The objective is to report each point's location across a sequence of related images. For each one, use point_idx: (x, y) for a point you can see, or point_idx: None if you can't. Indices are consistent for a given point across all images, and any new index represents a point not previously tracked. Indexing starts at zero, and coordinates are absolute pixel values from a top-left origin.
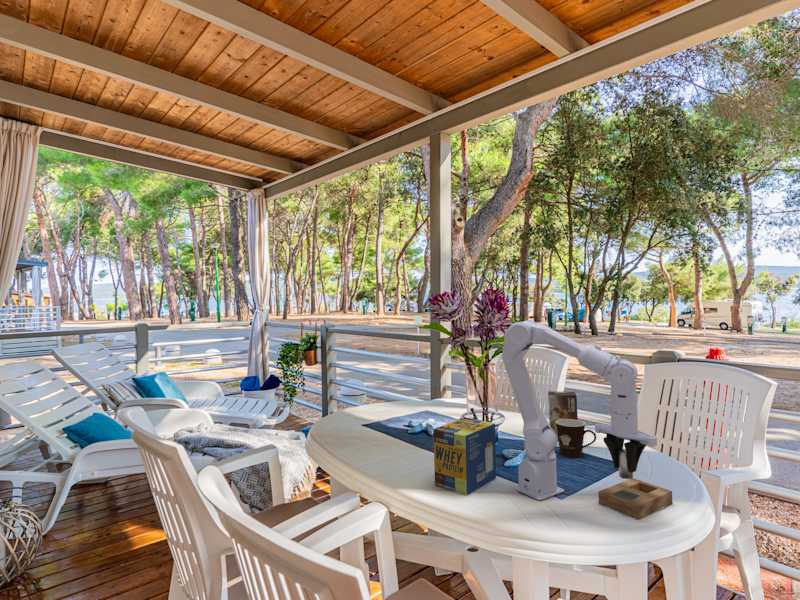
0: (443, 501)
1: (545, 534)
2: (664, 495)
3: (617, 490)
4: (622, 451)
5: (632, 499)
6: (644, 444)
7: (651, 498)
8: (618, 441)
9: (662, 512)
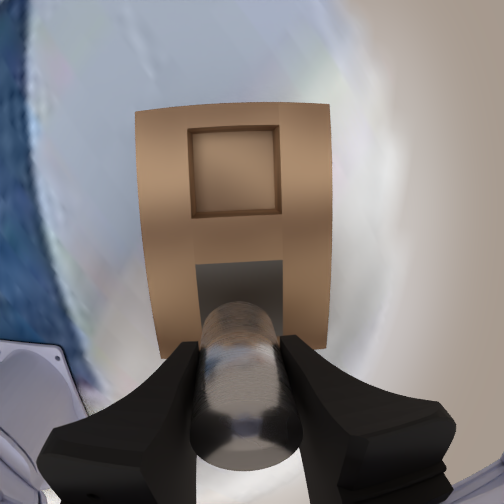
0: (60, 501)
1: (231, 496)
2: (331, 166)
3: (191, 296)
4: (236, 455)
5: (282, 319)
6: (441, 448)
7: (322, 249)
8: (179, 501)
9: (333, 212)
